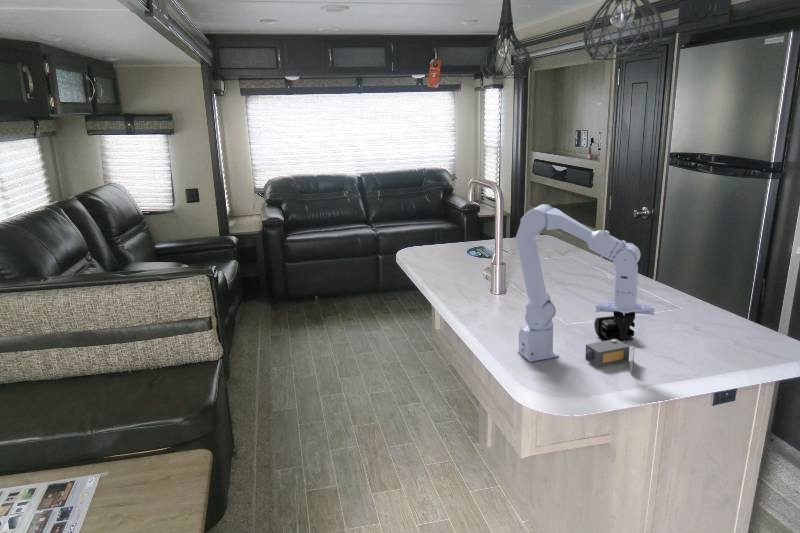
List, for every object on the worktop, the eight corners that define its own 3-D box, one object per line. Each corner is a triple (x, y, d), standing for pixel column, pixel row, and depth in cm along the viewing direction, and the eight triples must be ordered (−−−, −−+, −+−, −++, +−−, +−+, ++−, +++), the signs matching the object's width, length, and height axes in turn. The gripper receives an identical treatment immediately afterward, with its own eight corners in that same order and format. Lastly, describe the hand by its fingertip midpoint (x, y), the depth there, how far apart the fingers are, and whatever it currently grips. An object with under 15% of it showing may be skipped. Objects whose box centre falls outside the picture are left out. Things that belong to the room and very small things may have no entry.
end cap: (623, 331, 181) (624, 311, 179) (635, 340, 174) (636, 319, 172) (593, 334, 180) (594, 314, 178) (604, 343, 173) (605, 322, 171)
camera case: (595, 367, 157) (596, 351, 156) (583, 359, 163) (583, 343, 162) (628, 361, 160) (629, 344, 159) (615, 353, 166) (616, 337, 164)
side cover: (632, 373, 152) (633, 359, 151) (629, 373, 153) (629, 359, 152) (633, 360, 160) (634, 346, 159) (630, 360, 160) (631, 346, 159)
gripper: (596, 293, 149) (594, 341, 152) (656, 296, 144) (653, 345, 148) (596, 285, 155) (594, 331, 159) (654, 287, 151) (651, 335, 154)
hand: (622, 337), depth 154 cm, fingers closed
